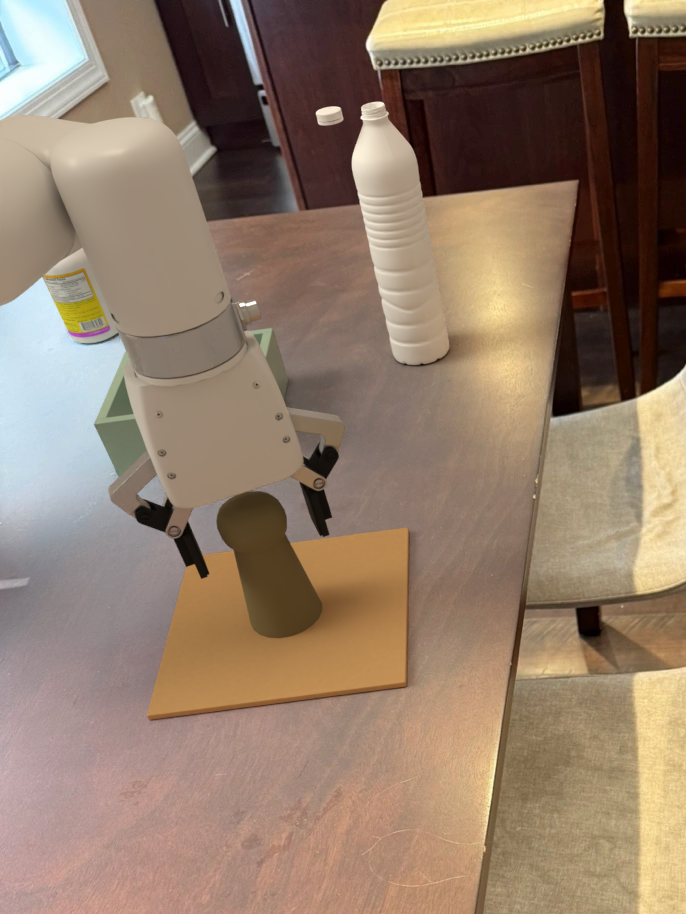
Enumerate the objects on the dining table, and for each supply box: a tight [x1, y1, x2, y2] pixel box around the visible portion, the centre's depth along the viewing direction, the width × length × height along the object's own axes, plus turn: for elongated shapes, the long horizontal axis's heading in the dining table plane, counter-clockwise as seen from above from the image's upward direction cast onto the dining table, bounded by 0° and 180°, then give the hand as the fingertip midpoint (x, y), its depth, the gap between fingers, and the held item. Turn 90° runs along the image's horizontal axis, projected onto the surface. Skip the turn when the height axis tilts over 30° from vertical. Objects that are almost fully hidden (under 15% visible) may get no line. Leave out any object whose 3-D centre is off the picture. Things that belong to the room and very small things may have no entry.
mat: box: [146, 526, 410, 721], centre depth 84 cm, size 20×20×1 cm
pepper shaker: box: [216, 490, 322, 638], centre depth 79 cm, size 6×6×11 cm
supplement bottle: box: [42, 248, 119, 344], centre depth 122 cm, size 7×7×13 cm
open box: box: [93, 327, 289, 478], centre depth 105 cm, size 16×16×6 cm
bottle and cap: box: [315, 101, 450, 366], centre depth 105 cm, size 9×6×25 cm
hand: (262, 547), depth 78 cm, fingers open, 9 cm apart
